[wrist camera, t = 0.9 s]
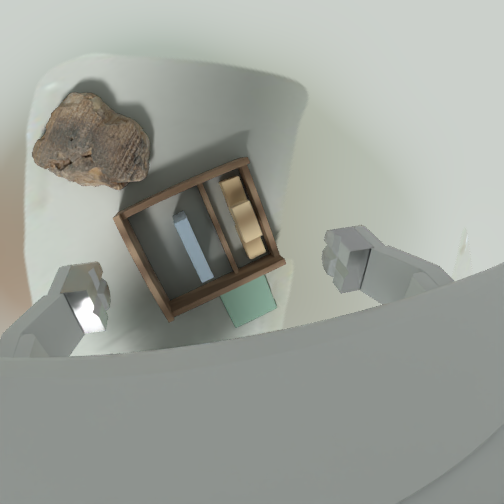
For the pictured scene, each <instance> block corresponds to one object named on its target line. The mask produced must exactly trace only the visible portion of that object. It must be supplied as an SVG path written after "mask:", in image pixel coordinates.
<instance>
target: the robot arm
mask: <svg viewBox="0 0 504 504" xmlns="http://www.w3.org/2000/svg"><path fill="white" fill-rule="evenodd" d="M324 241H325V242H326V244H327V246H326V247H325V248H324V250H323V254H322V263H323V267H324V270H325V271H326V273H327V274H328V275H330V276H332V277H334V278H333V283H334V285H335V286H336V287H337V289H338V290H339V292H340V293H345V292H351V291H355V290H361V291H362V292H363V293H365V294H367V295H368V296H370V297H372V298H373V299H374V300H376V301H378V302H379V303H381V304H382V305H380V306H376V307H373V308H369V309H366V310H362V311H358V312H355V313H351V314H347V315H343V316H339V317H335V318H331V319H327V320H323V321H319V322H314V323H310V324H306V325H301V326H296V327H292V328H287V329H282V330H277V331H273V332H267V333H262V334H257V335H252V336H246V337H241V338H235V339H229V340H223V341H216V342H210V343H203V344H197V345H190V346H182V347H175V348H167V349H158V350H149V351H140V352H130V353H119V354H106V355H91V356H70V354H71V353H72V351H73V350H74V349H75V347H76V346H77V344H78V343H79V342H80V340H81V339H82V337H83V336H84V335H85V334H84V333H92V332H100V331H106V326H107V320H108V316H107V313H106V311H107V310H108V309H109V308H110V302H111V301H110V291H109V287H108V284H107V282H106V281H105V280H104V279H102V278H101V277H102V273H103V271H102V268H101V266H100V263H98V262H89V263H82V264H74V265H67V266H62V267H60V268H59V269H58V272H57V274H56V276H55V278H54V281H53V283H52V285H51V287H50V290H49V292H48V295H46V296H43V297H42V298H41V299H40V300H38V301H37V302H36V303H35V304H34V305H33V306H32V307H31V308H29V309H28V310H27V311H26V312H25V313H24V314H23V315H22V316H21V317H20V318H19V319H18V320H17V321H15V322H14V323H13V324H12V325H11V326H10V327H9V328H8V329H7V330H6V331H5V332H4V333H3V334H2V336H1V339H0V504H504V263H502V264H499V265H497V266H495V267H492V268H490V269H487V270H485V271H482V272H479V273H477V274H474V275H471V276H469V277H466V278H463V279H461V280H458V281H454V280H453V279H452V278H451V277H450V276H449V275H448V274H447V273H446V272H445V271H444V270H443V269H442V268H441V267H440V266H438V265H435V264H433V263H431V262H428V261H426V260H423V259H421V258H419V257H416V256H414V255H411V254H409V253H406V252H404V251H401V250H398V249H396V248H394V247H391V246H385V245H384V244H383V243H382V242H381V241H380V240H379V239H378V238H377V237H376V236H375V235H374V234H373V233H372V232H370V230H368V229H367V228H366V227H365V226H363V225H358V226H352V227H346V228H340V229H333V230H327V232H326V234H325V239H324ZM69 356H70V357H69Z"/></svg>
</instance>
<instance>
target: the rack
mask: <svg viewBox="0 0 504 504" xmlns="http://www.w3.org/2000/svg"><path fill="white" fill-rule="evenodd" d="M249 163H250V161H249V159H248V157H242V158H238V159H236V160H233V161H231V162H228V163H226V164H223V165H221V166H218V167H216V168H213V169H211V170H208V171H206V172H204V173H201V174H199V175H197V176H194V177H192V178H190V179H187V180H185V181H183V182H181V183H178V184H176V185H174V186H172V187H170V188H167V189H165V190H163V191H161V192H159V193H157V194H154V195H152V196H150V197H148V198H146V199H144V200H142V201H140V202H138V203H136V204H134V205H132V206H130V207H128V208H126V209H124V210H122V211H120V212H118V213H117V214H116V215H115V216H114V217H113V220H114V222H115V224H116V226H117V228H118V230H119V232H120V234H121V236H122V238H123V240H124V242H125V244H126V246H127V248H128V250H129V252H130V254H131V256H132V258H133V260H134V262H135V264H136V266H137V267H138V269H139V271H140V273H141V275H142V277H143V279H144V280H145V282H146V284H147V286H148V288H149V289H150V291H151V293H152V295H153V296H154V298H155V300H156V302H157V303H158V305H159V307H160V308H161V310H162V312H163V313H164V315H165V317H166V318H167V320H168V322H172V321H174V317H176V316H178V315H180V314H182V313H184V312H187V311H189V310H191V309H193V308H195V307H197V306H199V305H202V304H204V303H206V302H208V301H210V300H212V299H214V298H216V297H219V296H221V295H223V294H225V293H227V292H229V291H231V290H233V289H235V288H237V287H240V286H242V285H244V284H246V283H248V282H250V281H252V280H254V279H256V278H258V277H260V276H262V275H264V274H266V273H268V272H271V271H273V270H275V269H277V268H279V267H281V266H283V265H285V264H286V262H285V259H284V258H283V257H281V256H280V255H279V251H278V248H277V245H276V243H275V240H274V237H273V234H272V231H271V229H270V226H269V223H268V220H267V217H266V215H265V212H264V209H263V206H262V204H261V201H260V198H259V195H258V193H257V190H256V187H255V185H254V182H253V179H252V176H251V174H250V171H249V168H248V166H247V164H249ZM236 168H238V169H239V172H240V175H241V177H242V180H243V183H244V185H245V188H246V190H247V193H248V196H249V198H250V201H251V204H252V206H253V209H254V212H255V214H256V217H257V220H258V222H259V225H260V228H261V231H262V233H263V236H264V239H265V241H266V244H267V247H268V249H269V252H270V254H268V255H266V256H264V257H262V258H260V259H258V260H256V261H254V262H251V263H249V264H247V265H245V266H243V267H241V268H239V269H238V268H237V265H236V263H235V260H234V258H233V256H232V253H231V251H230V249H229V246H228V244H227V242H226V239H225V237H224V234H223V232H222V230H221V227H220V225H219V222H218V220H217V218H216V215H215V213H214V210H213V208H212V206H211V203H210V201H209V198H208V196H207V193H206V191H205V189H204V186H203V184H202V183H203V182H205V181H207V180H210V179H212V178H214V177H217V176H219V175H222V174H224V173H226V172H229V171H231V170H234V169H236ZM196 185H197V187H198V189H199V192H200V194H201V196H202V199H203V201H204V204H205V206H206V208H207V211H208V213H209V216H210V218H211V220H212V223H213V225H214V227H215V230H216V232H217V234H218V237H219V239H220V242H221V244H222V246H223V249H224V251H225V253H226V255H227V258H228V260H229V262H230V265H231V267H232V269H233V271H232V272H230V273H228V274H226V275H224V276H222V277H220V278H218V279H216V280H213V281H211V282H209V283H207V284H205V285H203V286H201V287H199V288H196V289H194V290H192V291H190V292H188V293H186V294H184V295H181V296H179V297H177V298H175V299H173V300H171V301H170V300H169V298H168V296H167V294H166V293H165V291H164V289H163V287H162V285H161V284H160V282H159V280H158V278H157V276H156V274H155V272H154V270H153V269H152V267H151V265H150V263H149V261H148V259H147V257H146V255H145V253H144V251H143V249H142V247H141V245H140V243H139V241H138V239H137V237H136V235H135V233H134V231H133V229H132V227H131V225H130V223H129V220H128V217H130V216H132V215H134V214H136V213H138V212H140V211H142V210H144V209H146V208H148V207H150V206H152V205H154V204H156V203H158V202H160V201H163V200H165V199H167V198H169V197H171V196H173V195H176V194H178V193H180V192H182V191H184V190H187V189H189V188H191V187H193V186H196Z"/></svg>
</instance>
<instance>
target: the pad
mask: <svg viewBox="0 0 504 504" xmlns="http://www.w3.org/2000/svg"><path fill="white" fill-rule="evenodd" d="M220 297H221V299H222V302H223V304H224V306H225V308H226V310H227V312H228V314H229V316H230V318H231V320H232V322H233V324H234V326H235V328H237V327H239V326H241V325H243V324H245V323H247V322H249V321H252V320H254V319H256V318H258V317H260V316H262V315H264V314H266V313H268V312H270V311H272V310H274V309H276V308H277V307H276V304H275V301H274V299H273V296H272V294H271V291H270V289H269V286H268V283H267V281H266V278H265V276H264V275H262V276H260V277H258V278H256V279H254V280H252V281H250V282H248V283H246V284H244V285H242V286H240V287H237V288H235V289H233V290H231V291H229V292H227V293H225V294H223V295H221V296H220Z"/></svg>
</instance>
